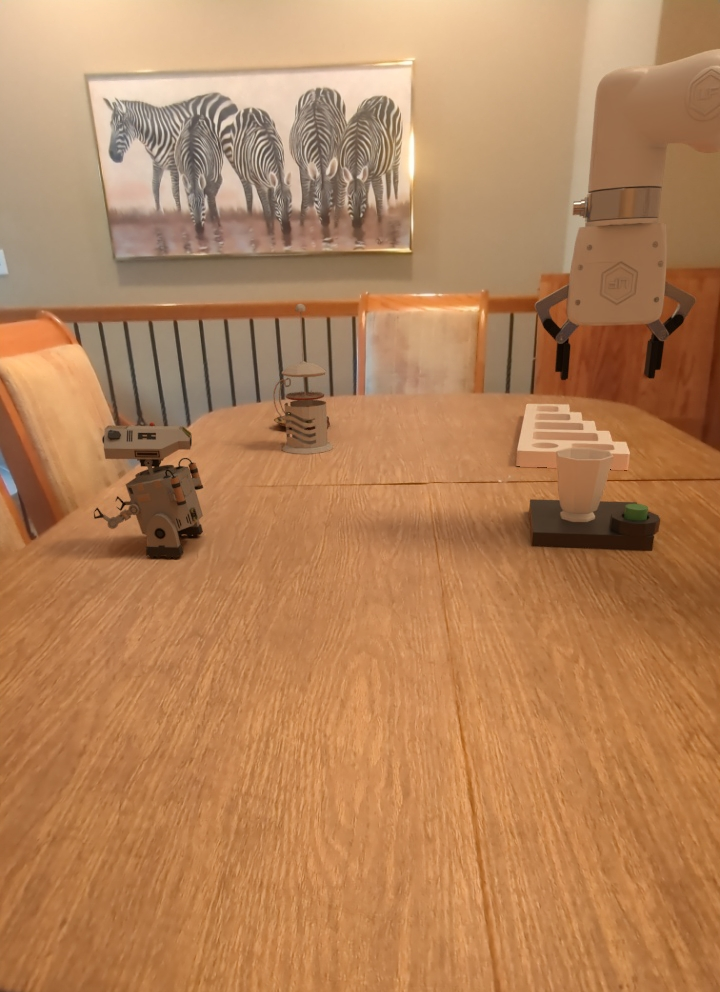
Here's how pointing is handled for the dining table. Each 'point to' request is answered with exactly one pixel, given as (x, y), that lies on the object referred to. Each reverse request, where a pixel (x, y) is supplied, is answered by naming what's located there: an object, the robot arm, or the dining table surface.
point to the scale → (591, 528)
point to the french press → (304, 410)
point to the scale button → (636, 512)
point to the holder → (562, 437)
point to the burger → (283, 422)
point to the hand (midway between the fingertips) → (606, 377)
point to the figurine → (157, 486)
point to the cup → (581, 481)
